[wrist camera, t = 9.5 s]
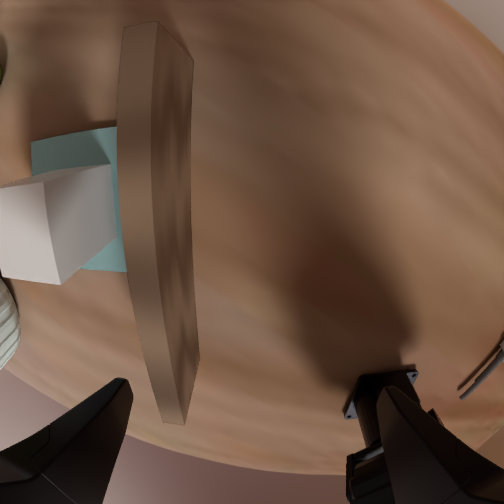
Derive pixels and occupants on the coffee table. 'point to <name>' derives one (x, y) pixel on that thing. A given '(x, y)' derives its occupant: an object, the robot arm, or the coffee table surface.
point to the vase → (8, 325)
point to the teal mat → (78, 155)
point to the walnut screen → (158, 209)
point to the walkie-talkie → (485, 372)
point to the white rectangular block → (55, 222)
